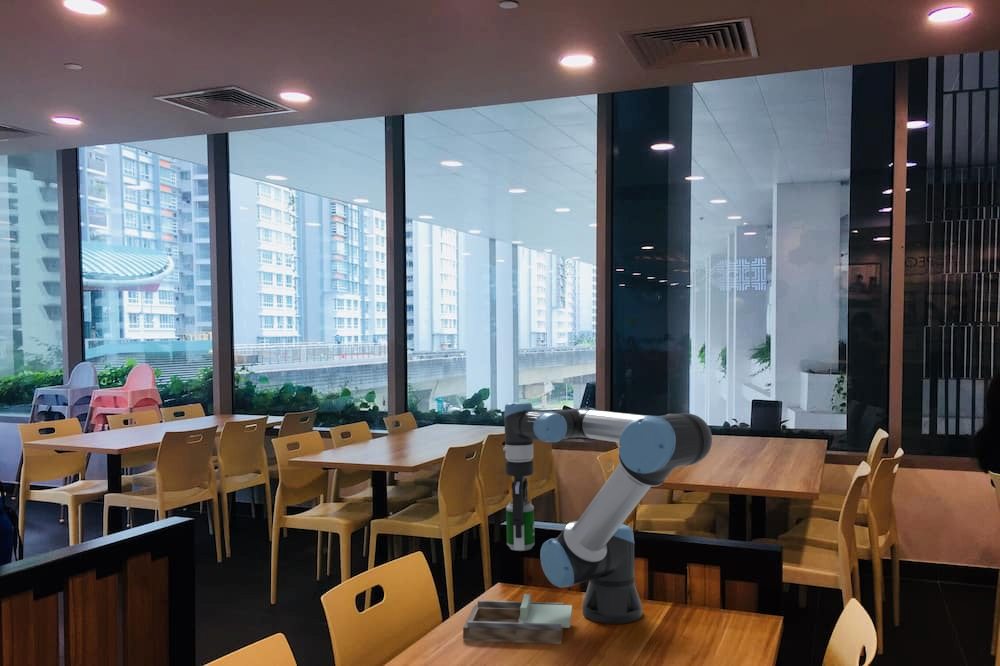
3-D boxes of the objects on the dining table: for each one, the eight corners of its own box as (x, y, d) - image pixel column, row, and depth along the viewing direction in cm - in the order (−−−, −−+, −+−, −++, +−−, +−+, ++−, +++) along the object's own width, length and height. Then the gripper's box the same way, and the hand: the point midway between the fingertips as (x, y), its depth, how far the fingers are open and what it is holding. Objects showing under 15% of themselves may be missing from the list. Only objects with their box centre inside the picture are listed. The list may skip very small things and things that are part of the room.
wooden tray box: (564, 619, 195) (564, 602, 195) (560, 644, 179) (560, 625, 179) (474, 616, 198) (474, 599, 198) (463, 640, 182) (463, 622, 182)
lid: (572, 608, 193) (571, 593, 193) (569, 627, 180) (569, 611, 180) (525, 606, 194) (525, 591, 194) (519, 625, 182) (519, 609, 182)
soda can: (532, 552, 202) (531, 506, 202) (504, 551, 203) (503, 505, 203) (536, 544, 209) (536, 500, 209) (509, 543, 211) (508, 499, 211)
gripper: (510, 454, 217) (511, 535, 217) (500, 465, 197) (502, 555, 197) (536, 454, 216) (538, 536, 216) (529, 465, 196) (531, 556, 196)
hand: (520, 545), depth 206 cm, fingers closed on soda can, 7 cm apart
